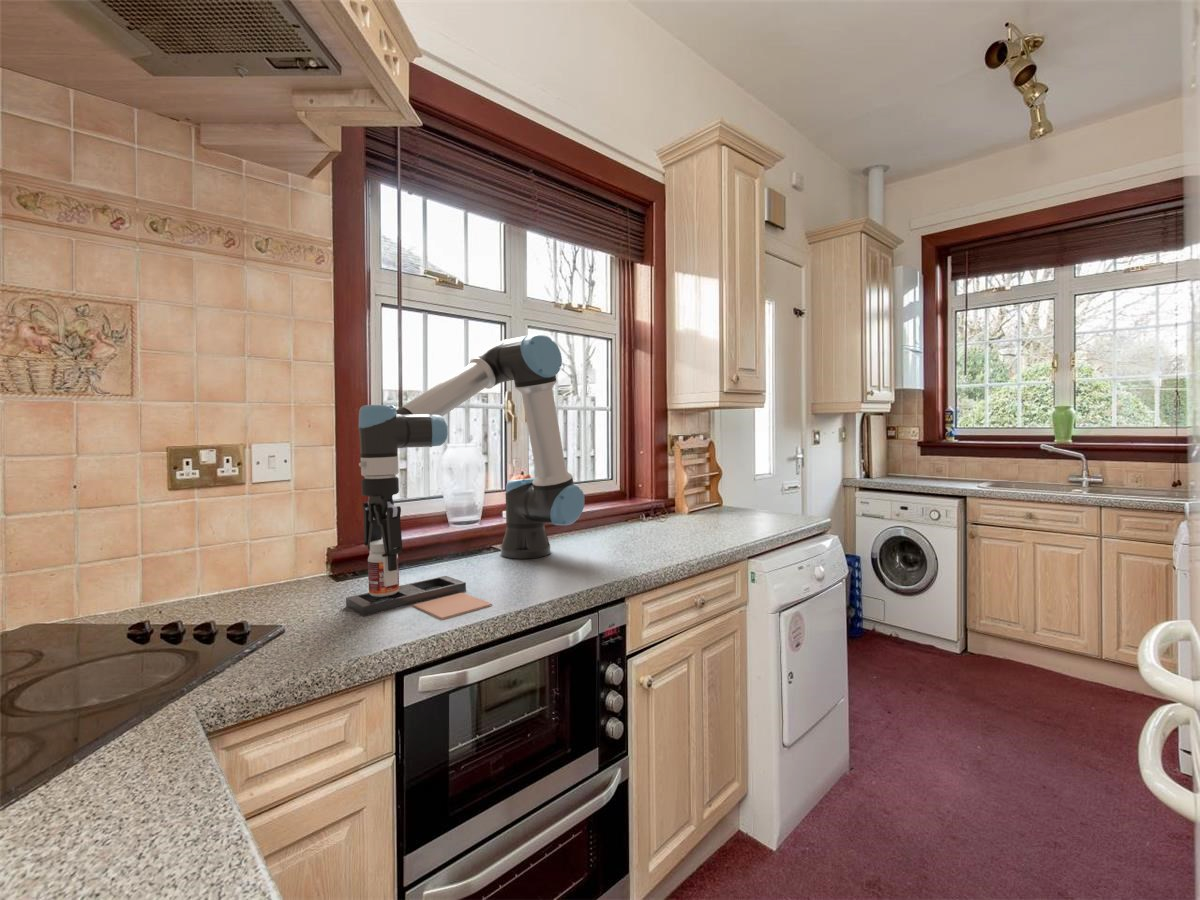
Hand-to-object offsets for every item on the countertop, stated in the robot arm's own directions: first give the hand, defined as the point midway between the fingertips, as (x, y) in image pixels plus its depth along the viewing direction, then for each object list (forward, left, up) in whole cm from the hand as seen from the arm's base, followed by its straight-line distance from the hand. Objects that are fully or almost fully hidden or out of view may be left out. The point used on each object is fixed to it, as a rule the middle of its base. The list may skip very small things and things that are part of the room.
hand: (384, 581), depth 118 cm
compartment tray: (-6, 0, -5) cm, 8 cm away
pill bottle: (0, 0, -3) cm, 3 cm away
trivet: (-10, +12, -5) cm, 16 cm away
